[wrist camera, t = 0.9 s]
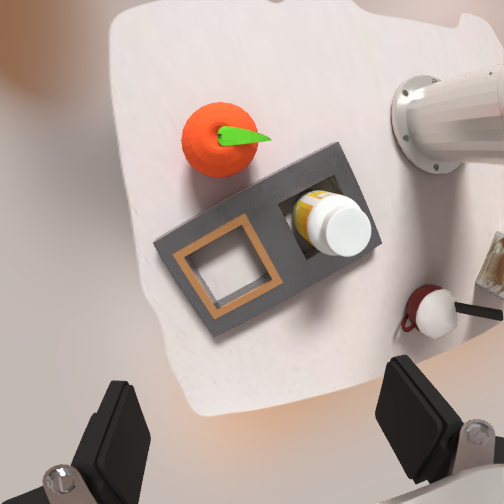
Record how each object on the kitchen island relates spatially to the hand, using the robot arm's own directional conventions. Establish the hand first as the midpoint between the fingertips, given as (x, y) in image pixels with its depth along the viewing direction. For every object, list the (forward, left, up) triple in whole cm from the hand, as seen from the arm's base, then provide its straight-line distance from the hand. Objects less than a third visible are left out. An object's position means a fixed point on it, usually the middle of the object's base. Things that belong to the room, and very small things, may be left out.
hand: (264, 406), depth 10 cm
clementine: (-5, -10, -24) cm, 26 cm away
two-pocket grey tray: (-4, +1, -24) cm, 24 cm away
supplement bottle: (-9, +1, -24) cm, 26 cm away
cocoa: (-18, +19, -24) cm, 35 cm away
